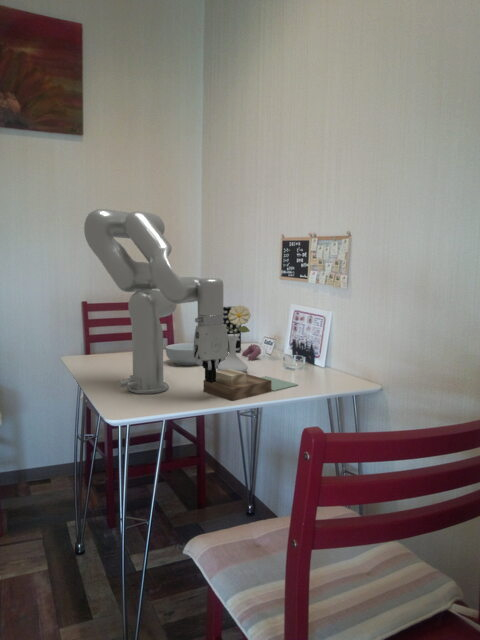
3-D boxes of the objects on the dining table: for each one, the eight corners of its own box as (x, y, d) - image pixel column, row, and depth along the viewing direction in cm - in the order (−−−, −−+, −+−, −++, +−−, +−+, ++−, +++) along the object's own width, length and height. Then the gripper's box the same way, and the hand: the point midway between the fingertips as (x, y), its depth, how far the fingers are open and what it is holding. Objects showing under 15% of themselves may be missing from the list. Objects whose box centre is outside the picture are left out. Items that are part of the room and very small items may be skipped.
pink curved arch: (257, 364, 199) (264, 348, 199) (247, 359, 198) (255, 344, 198) (249, 359, 208) (256, 344, 209) (240, 355, 207) (247, 340, 207)
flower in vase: (211, 373, 175) (211, 304, 172) (226, 367, 185) (226, 302, 182) (243, 377, 169) (243, 306, 166) (257, 371, 179) (258, 304, 176)
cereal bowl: (212, 360, 199) (212, 343, 198) (202, 369, 183) (202, 350, 182) (173, 358, 202) (173, 341, 201) (159, 366, 185) (159, 348, 185)
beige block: (231, 386, 144) (231, 376, 144) (214, 380, 150) (214, 371, 150) (246, 382, 148) (246, 373, 148) (229, 377, 154) (229, 368, 154)
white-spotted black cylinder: (222, 349, 222) (223, 306, 220) (241, 350, 222) (241, 306, 219) (221, 353, 214) (221, 308, 211) (240, 353, 214) (240, 308, 211)
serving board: (232, 400, 141) (232, 389, 141) (203, 391, 151) (203, 380, 151) (271, 391, 152) (271, 380, 151) (241, 382, 162) (241, 372, 162)
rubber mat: (273, 391, 152) (273, 390, 151) (241, 382, 163) (241, 381, 163) (298, 385, 159) (298, 384, 159) (266, 377, 170) (266, 376, 170)
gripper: (197, 323, 134) (197, 388, 136) (238, 320, 144) (237, 380, 146) (182, 321, 139) (182, 383, 142) (222, 317, 149) (221, 375, 152)
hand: (210, 381), depth 144 cm, fingers closed
